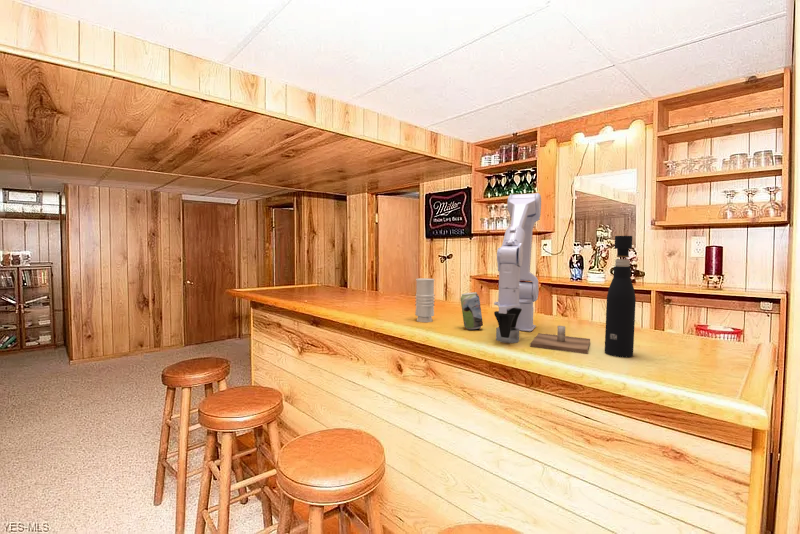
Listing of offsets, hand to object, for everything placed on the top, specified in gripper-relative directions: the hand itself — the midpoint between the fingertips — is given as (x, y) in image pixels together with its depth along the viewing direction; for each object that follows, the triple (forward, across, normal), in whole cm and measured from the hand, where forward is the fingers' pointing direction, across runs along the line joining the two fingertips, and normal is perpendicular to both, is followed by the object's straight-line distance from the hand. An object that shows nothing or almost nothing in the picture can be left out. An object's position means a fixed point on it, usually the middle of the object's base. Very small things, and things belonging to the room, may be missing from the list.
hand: (507, 334), depth 114 cm
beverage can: (+2, -10, -14) cm, 17 cm away
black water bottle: (+2, 0, +28) cm, 28 cm away
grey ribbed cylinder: (+2, -15, -33) cm, 36 cm away
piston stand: (+2, -3, +14) cm, 14 cm away
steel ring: (+2, 0, 0) cm, 2 cm away
